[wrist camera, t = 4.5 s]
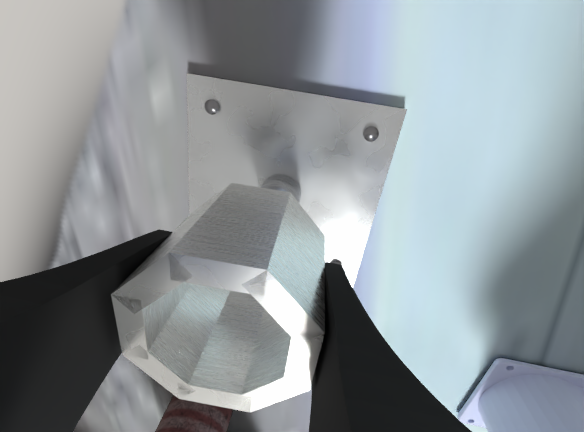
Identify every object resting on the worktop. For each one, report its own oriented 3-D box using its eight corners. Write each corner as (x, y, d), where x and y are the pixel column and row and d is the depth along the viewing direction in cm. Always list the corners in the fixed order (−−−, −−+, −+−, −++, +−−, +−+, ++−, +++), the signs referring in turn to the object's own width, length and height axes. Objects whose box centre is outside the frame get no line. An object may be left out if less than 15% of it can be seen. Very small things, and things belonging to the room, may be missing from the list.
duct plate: (404, 108, 15) (426, 117, 12) (352, 282, 21) (356, 324, 17) (190, 73, 16) (150, 71, 12) (192, 251, 21) (164, 285, 18)
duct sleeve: (332, 199, 11) (337, 281, 6) (306, 317, 14) (298, 433, 9) (190, 175, 11) (100, 240, 7) (193, 297, 14) (131, 401, 9)
